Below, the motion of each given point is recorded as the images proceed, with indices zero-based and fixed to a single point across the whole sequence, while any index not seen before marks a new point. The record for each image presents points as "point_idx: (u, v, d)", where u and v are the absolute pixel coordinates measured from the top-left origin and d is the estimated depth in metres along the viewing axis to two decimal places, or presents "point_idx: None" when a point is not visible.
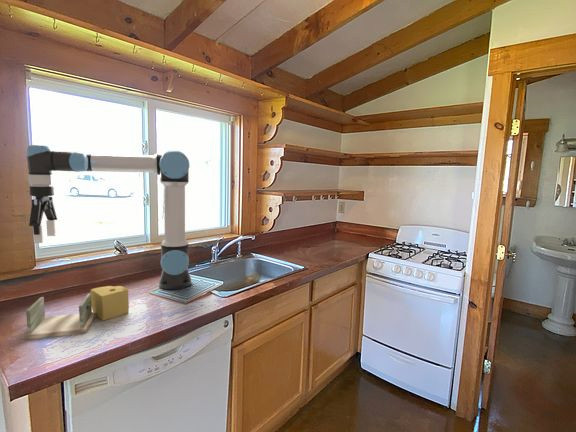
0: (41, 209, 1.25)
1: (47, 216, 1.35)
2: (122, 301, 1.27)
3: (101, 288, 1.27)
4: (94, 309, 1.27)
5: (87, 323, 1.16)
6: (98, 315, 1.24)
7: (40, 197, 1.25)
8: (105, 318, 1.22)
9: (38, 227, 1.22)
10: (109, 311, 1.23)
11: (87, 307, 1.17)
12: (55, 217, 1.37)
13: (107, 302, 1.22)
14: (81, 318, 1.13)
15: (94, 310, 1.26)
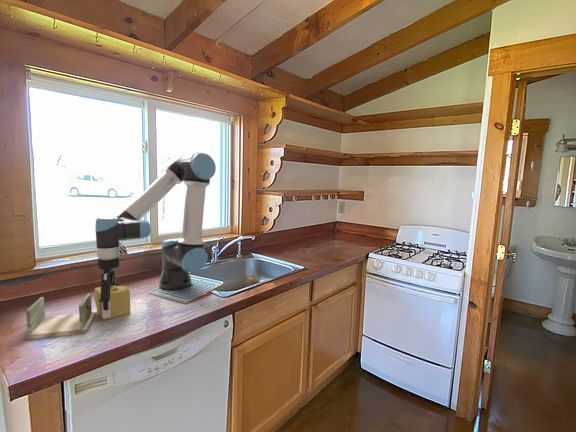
0: (109, 282, 1.23)
1: None
2: (123, 301, 1.27)
3: None
4: (97, 308, 1.28)
5: (87, 323, 1.16)
6: (100, 314, 1.25)
7: (108, 270, 1.23)
8: None
9: (107, 302, 1.20)
10: None
11: (87, 307, 1.17)
12: (117, 284, 1.35)
13: None
14: (81, 318, 1.13)
15: (97, 309, 1.28)
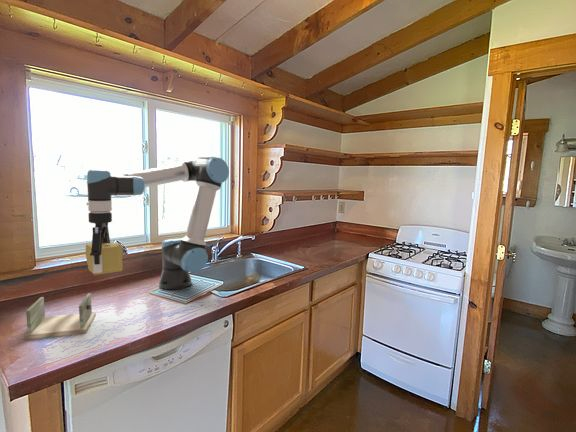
0: (101, 237, 1.19)
1: (102, 242, 1.28)
2: (115, 257, 1.23)
3: None
4: (88, 264, 1.24)
5: (87, 323, 1.16)
6: (91, 270, 1.21)
7: (100, 224, 1.19)
8: (96, 273, 1.19)
9: (99, 256, 1.16)
10: None
11: (87, 307, 1.17)
12: None
13: None
14: (81, 318, 1.13)
15: (89, 265, 1.24)
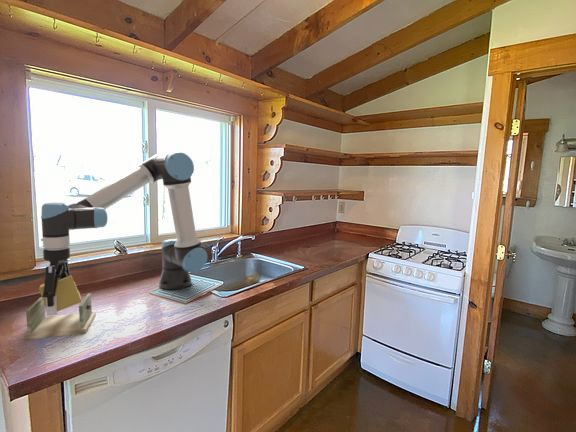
0: (56, 276, 1.10)
1: (61, 278, 1.20)
2: (68, 290, 1.13)
3: None
4: None
5: (87, 323, 1.16)
6: None
7: (55, 262, 1.10)
8: None
9: (52, 298, 1.08)
10: None
11: (87, 307, 1.17)
12: None
13: None
14: (81, 318, 1.13)
15: None
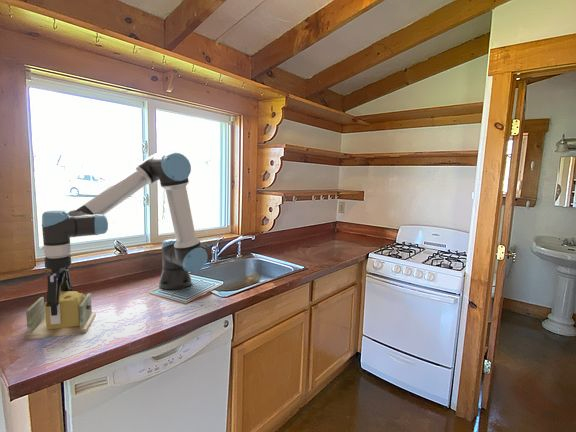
0: (58, 284, 1.11)
1: (62, 288, 1.19)
2: (71, 312, 1.12)
3: (62, 293, 1.17)
4: None
5: (87, 323, 1.16)
6: None
7: (56, 271, 1.10)
8: (49, 327, 1.11)
9: (56, 307, 1.09)
10: None
11: (87, 307, 1.17)
12: (70, 288, 1.22)
13: None
14: (81, 318, 1.13)
15: None
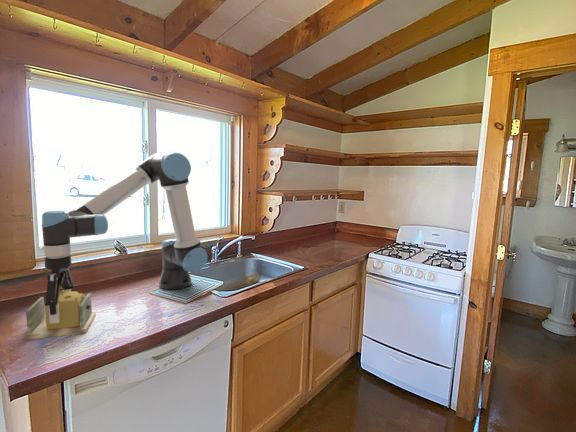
0: (58, 284, 1.11)
1: (63, 286, 1.20)
2: (71, 312, 1.12)
3: (62, 293, 1.17)
4: None
5: (87, 323, 1.16)
6: None
7: (57, 270, 1.10)
8: (49, 327, 1.11)
9: (55, 306, 1.08)
10: None
11: (87, 307, 1.17)
12: None
13: None
14: (81, 318, 1.13)
15: None
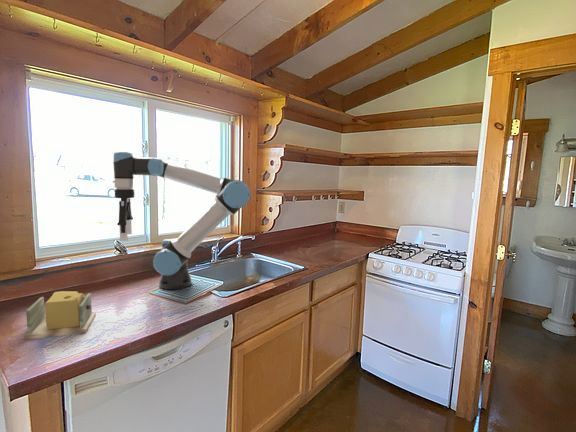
0: (125, 210, 1.38)
1: None
2: (71, 312, 1.12)
3: (62, 293, 1.17)
4: None
5: (87, 323, 1.16)
6: None
7: (125, 199, 1.38)
8: (49, 327, 1.11)
9: (124, 226, 1.35)
10: (53, 320, 1.11)
11: (87, 307, 1.17)
12: (131, 217, 1.50)
13: (51, 310, 1.10)
14: (81, 318, 1.13)
15: None
